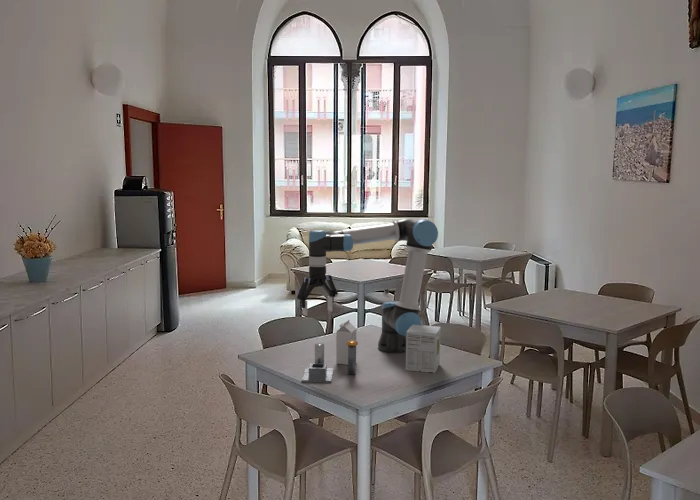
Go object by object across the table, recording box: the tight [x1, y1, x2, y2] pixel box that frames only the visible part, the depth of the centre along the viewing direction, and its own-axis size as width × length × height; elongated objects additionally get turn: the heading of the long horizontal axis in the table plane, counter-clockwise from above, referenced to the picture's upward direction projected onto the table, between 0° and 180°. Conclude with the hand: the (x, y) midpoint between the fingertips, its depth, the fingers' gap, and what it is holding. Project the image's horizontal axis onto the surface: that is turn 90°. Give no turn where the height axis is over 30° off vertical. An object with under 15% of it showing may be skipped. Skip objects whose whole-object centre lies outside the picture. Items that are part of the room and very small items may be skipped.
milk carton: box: [335, 319, 357, 366], centre depth 280 cm, size 7×7×19 cm
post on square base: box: [301, 342, 334, 384], centre depth 262 cm, size 12×16×12 cm
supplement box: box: [405, 324, 442, 374], centre depth 274 cm, size 13×13×18 cm
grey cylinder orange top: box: [347, 340, 358, 376], centre depth 265 cm, size 5×5×14 cm
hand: (317, 313), depth 277 cm, fingers open, 13 cm apart
